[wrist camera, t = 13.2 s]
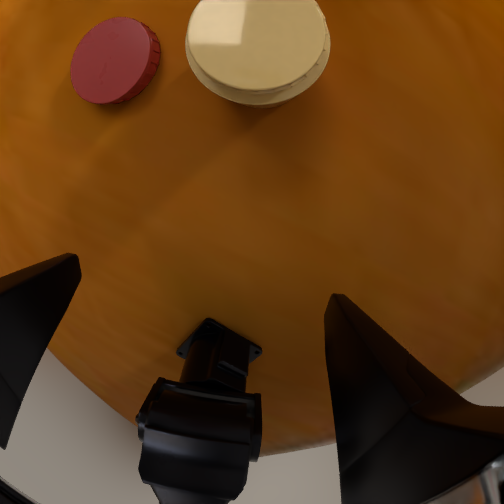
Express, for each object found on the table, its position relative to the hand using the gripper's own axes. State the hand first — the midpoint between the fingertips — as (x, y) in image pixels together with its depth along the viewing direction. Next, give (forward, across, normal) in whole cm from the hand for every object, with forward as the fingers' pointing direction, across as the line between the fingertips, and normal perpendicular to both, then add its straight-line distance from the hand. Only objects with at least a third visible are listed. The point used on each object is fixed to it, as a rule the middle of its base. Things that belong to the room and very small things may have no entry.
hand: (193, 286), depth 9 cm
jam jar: (+12, -1, -9) cm, 15 cm away
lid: (+10, +10, -9) cm, 17 cm away
